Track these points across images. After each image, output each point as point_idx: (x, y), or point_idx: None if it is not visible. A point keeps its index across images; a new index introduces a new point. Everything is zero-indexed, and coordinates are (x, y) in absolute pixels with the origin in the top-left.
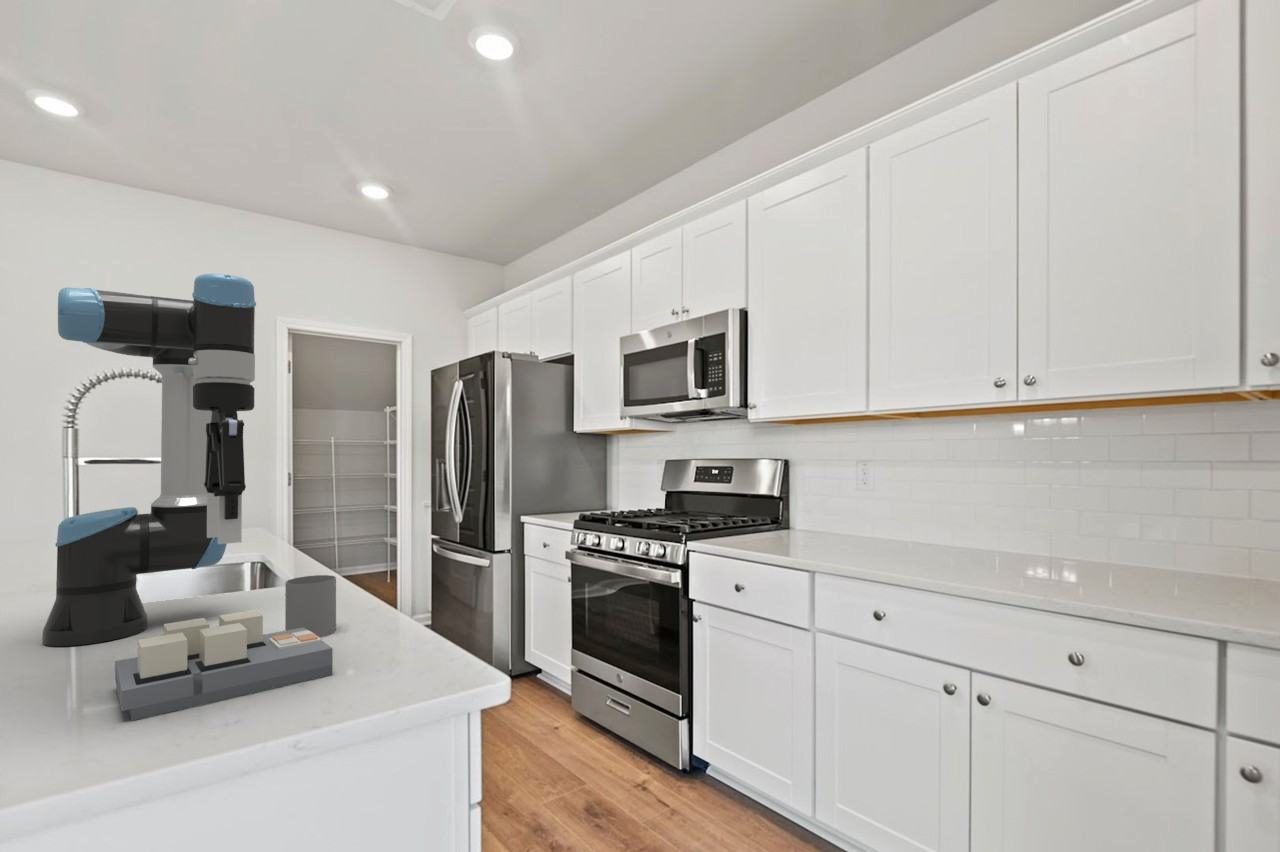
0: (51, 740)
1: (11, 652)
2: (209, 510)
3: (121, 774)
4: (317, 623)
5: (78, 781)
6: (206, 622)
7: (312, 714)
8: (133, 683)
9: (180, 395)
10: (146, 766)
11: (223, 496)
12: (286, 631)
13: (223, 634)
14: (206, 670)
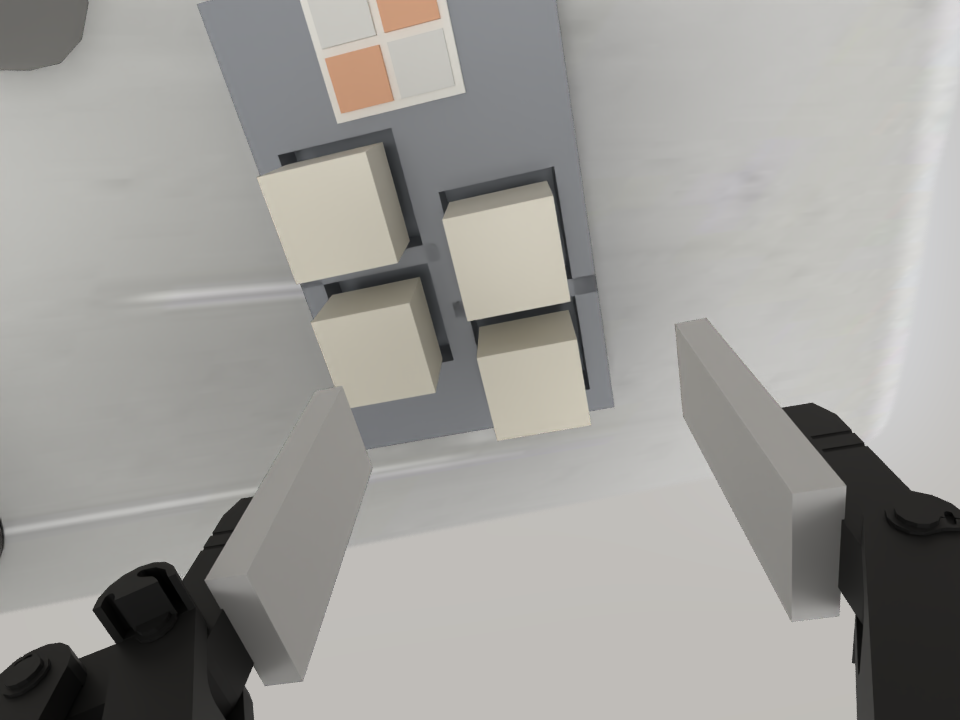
0: (620, 455)
1: (20, 608)
2: (334, 570)
3: (869, 340)
4: None
5: (846, 390)
6: (382, 311)
7: (833, 4)
8: None
9: None
10: (865, 310)
11: (838, 591)
12: (234, 67)
13: (562, 256)
14: None
